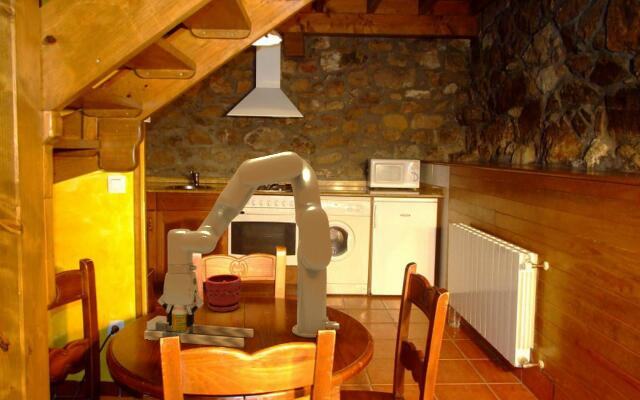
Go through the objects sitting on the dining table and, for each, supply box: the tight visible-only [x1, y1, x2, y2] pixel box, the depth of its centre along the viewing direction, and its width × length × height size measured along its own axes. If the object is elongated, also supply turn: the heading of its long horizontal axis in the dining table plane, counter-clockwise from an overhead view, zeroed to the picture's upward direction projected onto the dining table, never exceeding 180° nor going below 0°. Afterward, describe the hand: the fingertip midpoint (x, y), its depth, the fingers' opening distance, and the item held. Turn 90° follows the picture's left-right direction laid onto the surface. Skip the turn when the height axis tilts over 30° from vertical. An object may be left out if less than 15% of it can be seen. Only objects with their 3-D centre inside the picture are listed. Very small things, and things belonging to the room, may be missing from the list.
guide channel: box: [143, 315, 254, 348], centre depth 161 cm, size 32×10×5 cm, turn 79°
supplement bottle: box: [171, 304, 190, 334], centre depth 162 cm, size 5×5×10 cm
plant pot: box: [205, 273, 242, 313], centre depth 194 cm, size 13×13×12 cm
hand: (180, 324), depth 163 cm, fingers closed on supplement bottle, 5 cm apart
